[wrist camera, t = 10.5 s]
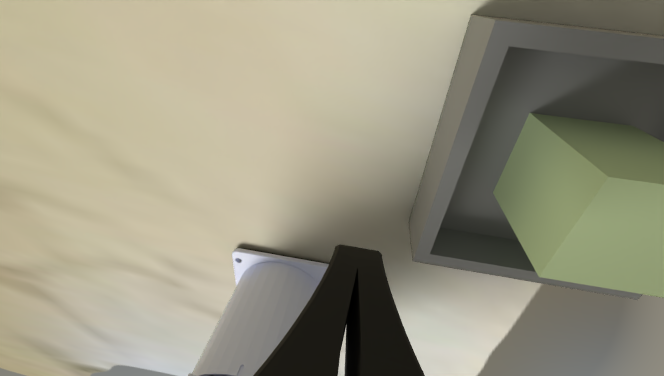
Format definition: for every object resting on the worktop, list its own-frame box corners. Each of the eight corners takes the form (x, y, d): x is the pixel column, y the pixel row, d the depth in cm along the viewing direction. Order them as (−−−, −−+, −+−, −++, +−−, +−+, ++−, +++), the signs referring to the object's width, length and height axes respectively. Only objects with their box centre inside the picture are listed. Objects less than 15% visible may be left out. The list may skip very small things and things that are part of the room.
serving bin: (598, 253, 19) (637, 299, 16) (408, 222, 20) (412, 261, 17) (766, 47, 12) (883, 63, 9) (471, 14, 13) (495, 20, 10)
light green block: (579, 205, 16) (664, 297, 11) (492, 192, 17) (539, 276, 12) (633, 125, 14) (773, 199, 9) (529, 113, 14) (608, 176, 9)
